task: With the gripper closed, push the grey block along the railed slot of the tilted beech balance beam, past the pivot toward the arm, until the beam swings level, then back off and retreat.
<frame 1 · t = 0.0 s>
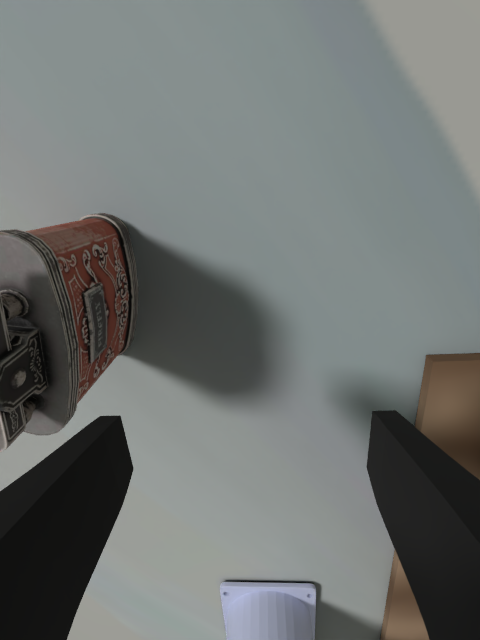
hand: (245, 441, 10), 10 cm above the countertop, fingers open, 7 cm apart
red tin: (110, 286, 19), on the countertop
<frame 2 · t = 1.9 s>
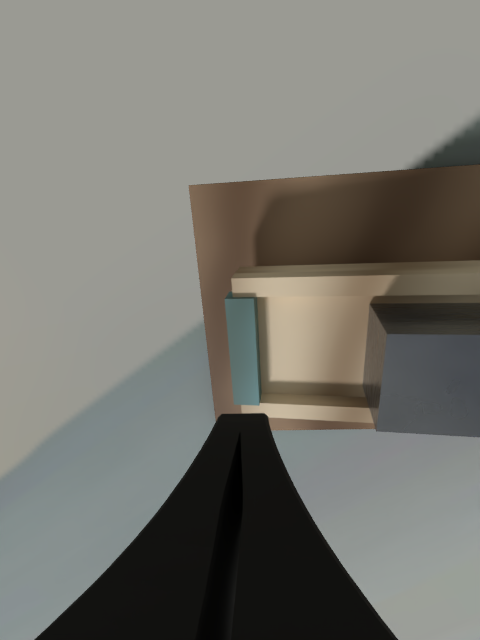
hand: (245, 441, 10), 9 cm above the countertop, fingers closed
grey block: (428, 347, 14), point 4 cm above the countertop, tilted 6°, touching beam
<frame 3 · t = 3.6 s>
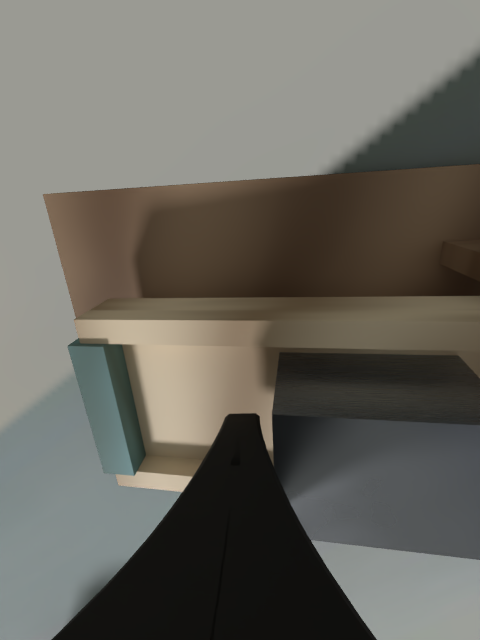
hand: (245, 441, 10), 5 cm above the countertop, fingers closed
stand: (439, 347, 14), on the countertop
grey block: (360, 409, 10), point 4 cm above the countertop, tilted 6°, touching gripper
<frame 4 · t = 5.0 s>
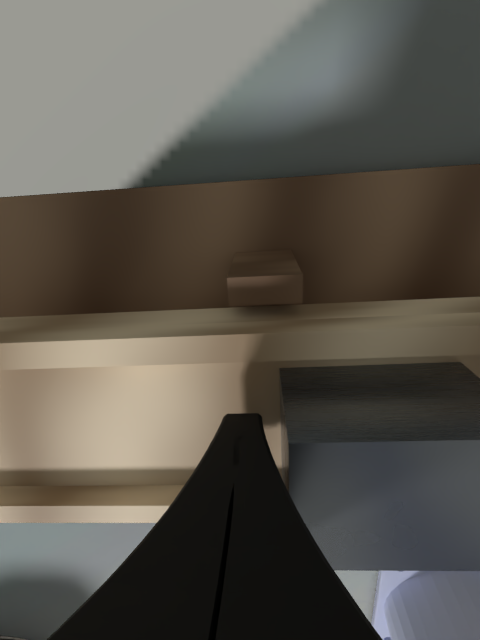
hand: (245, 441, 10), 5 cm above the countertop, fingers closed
stand: (266, 352, 15), on the countertop
grey block: (363, 422, 10), point 5 cm above the countertop, touching gripper
beam: (269, 420, 10), point 4 cm above the countertop, hinge at -0.5°
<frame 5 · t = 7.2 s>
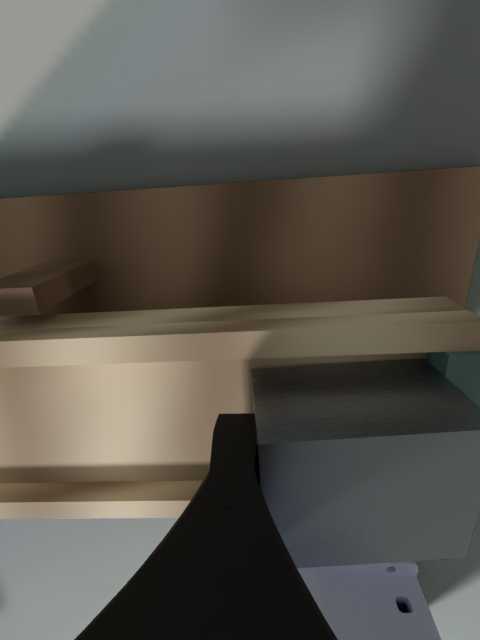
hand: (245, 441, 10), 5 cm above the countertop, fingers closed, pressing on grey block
stand: (102, 357, 15), on the countertop
grey block: (334, 420, 10), point 4 cm above the countertop, touching beam, gripper
beam: (42, 422, 11), point 4 cm above the countertop, hinge at -1.5°, touching grey block
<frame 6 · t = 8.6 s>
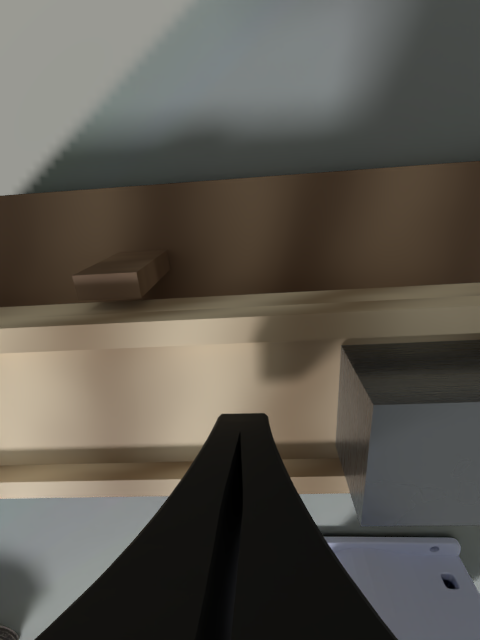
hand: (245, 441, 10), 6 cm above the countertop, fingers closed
stand: (165, 345, 16), on the countertop
grey block: (415, 396, 11), point 4 cm above the countertop, touching beam
beam: (132, 403, 12), point 4 cm above the countertop, hinge at -0.9°, touching grey block
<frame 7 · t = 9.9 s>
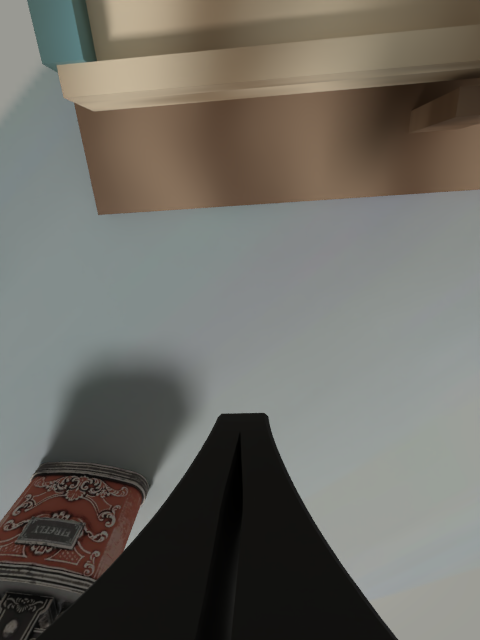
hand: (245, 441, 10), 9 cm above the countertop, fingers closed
red tin: (94, 478, 24), on the countertop
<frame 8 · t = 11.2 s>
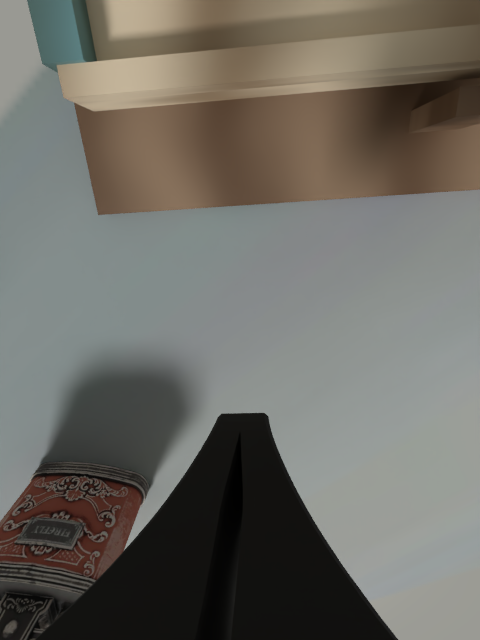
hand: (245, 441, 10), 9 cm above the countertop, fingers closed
red tin: (94, 478, 24), on the countertop
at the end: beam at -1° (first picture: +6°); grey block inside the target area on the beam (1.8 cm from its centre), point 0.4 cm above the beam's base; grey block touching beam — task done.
